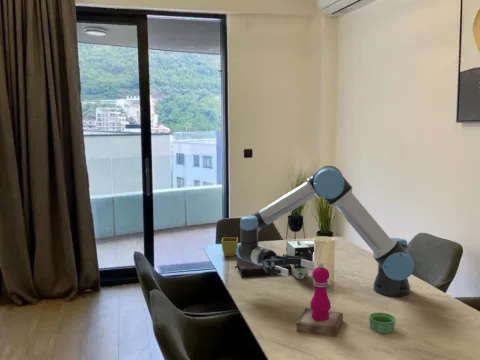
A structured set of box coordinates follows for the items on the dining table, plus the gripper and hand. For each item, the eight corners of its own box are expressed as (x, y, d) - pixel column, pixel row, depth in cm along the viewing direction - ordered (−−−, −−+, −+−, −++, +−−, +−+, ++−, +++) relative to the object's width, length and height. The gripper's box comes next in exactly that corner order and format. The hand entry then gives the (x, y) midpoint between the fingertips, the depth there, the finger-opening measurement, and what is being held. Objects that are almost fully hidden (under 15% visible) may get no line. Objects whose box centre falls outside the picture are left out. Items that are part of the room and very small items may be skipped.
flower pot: (237, 257, 254) (237, 241, 253) (221, 257, 255) (221, 241, 254) (237, 253, 263) (237, 237, 262) (222, 253, 263) (222, 237, 262)
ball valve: (314, 282, 214) (314, 244, 211) (296, 283, 212) (296, 245, 210) (301, 270, 231) (302, 235, 229) (285, 271, 230) (285, 236, 227)
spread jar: (298, 262, 245) (298, 240, 244) (318, 260, 247) (319, 239, 246) (306, 269, 233) (306, 246, 232) (327, 267, 236) (328, 245, 234)
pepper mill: (326, 323, 163) (326, 267, 160) (306, 318, 167) (307, 264, 164) (333, 315, 169) (334, 262, 166) (314, 311, 173) (315, 259, 170)
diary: (291, 275, 226) (292, 265, 225) (241, 279, 221) (241, 269, 221) (281, 263, 244) (281, 254, 244) (234, 266, 239) (234, 257, 239)
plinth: (342, 320, 172) (343, 312, 172) (336, 337, 159) (336, 328, 159) (305, 315, 177) (305, 307, 177) (296, 330, 164) (296, 322, 164)
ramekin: (381, 336, 159) (381, 324, 159) (363, 326, 167) (363, 315, 167) (400, 331, 163) (401, 319, 163) (382, 322, 171) (383, 310, 171)
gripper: (286, 260, 200) (323, 272, 183) (240, 272, 185) (276, 286, 168) (286, 243, 199) (323, 253, 182) (240, 254, 184) (276, 266, 167)
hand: (301, 269), depth 175 cm, fingers open, 13 cm apart
